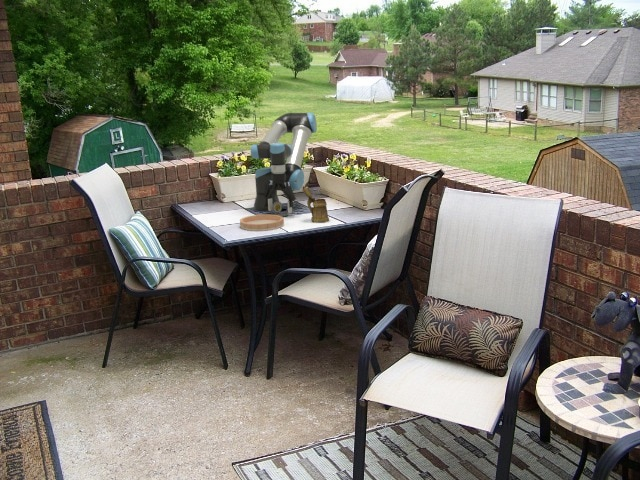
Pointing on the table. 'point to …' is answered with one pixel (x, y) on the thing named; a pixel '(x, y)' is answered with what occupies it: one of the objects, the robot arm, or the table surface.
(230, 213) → the table surface
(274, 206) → the pocket watch
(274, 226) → the round dish
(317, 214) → the wooden mug
